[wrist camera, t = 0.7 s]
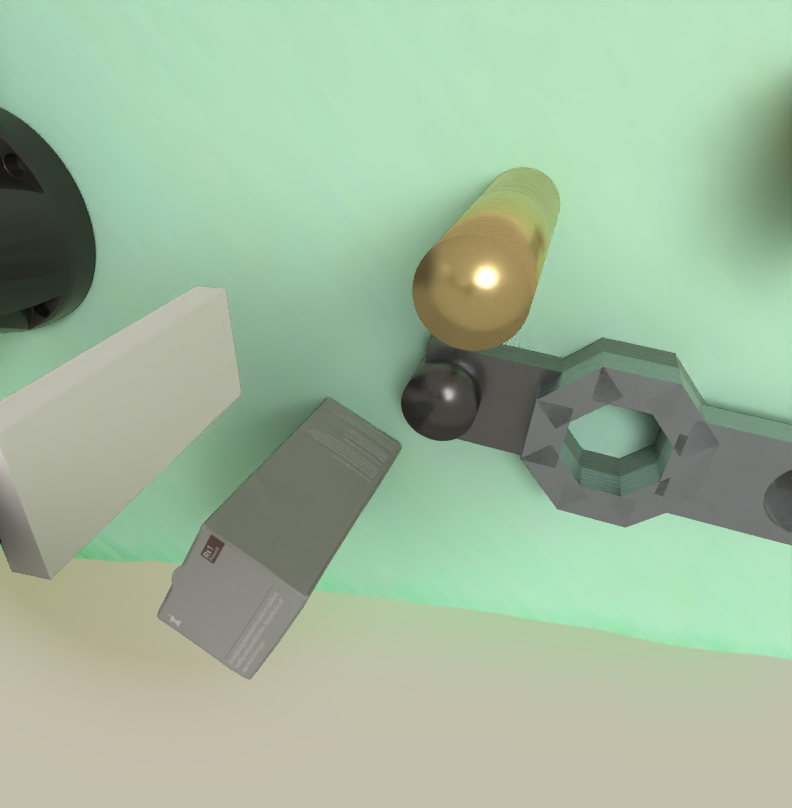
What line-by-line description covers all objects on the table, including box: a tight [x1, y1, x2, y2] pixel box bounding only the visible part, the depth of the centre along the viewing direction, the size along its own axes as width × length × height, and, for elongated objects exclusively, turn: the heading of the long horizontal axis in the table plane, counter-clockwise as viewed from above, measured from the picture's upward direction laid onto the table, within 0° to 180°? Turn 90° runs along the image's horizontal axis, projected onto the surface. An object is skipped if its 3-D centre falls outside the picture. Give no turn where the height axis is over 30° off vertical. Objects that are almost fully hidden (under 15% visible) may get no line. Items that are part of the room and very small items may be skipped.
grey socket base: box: [401, 335, 792, 545], centre depth 36 cm, size 24×10×4 cm, turn 83°
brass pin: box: [413, 167, 560, 351], centre depth 27 cm, size 4×4×15 cm
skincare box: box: [157, 397, 401, 679], centre depth 38 cm, size 8×7×16 cm
